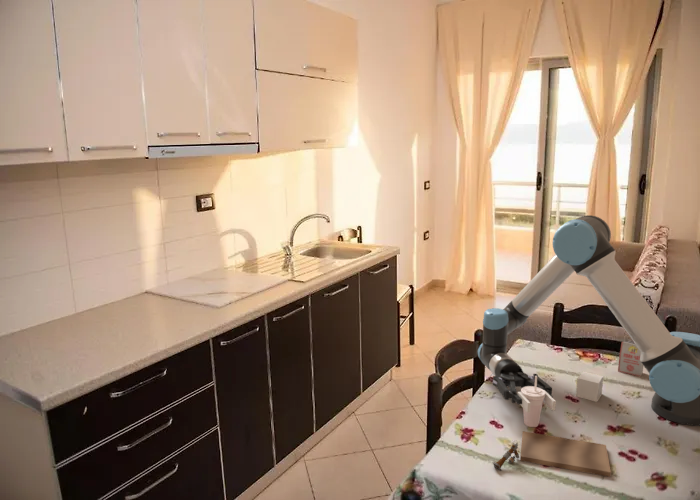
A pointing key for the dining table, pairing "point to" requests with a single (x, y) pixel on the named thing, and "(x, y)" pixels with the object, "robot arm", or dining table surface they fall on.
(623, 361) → the small printed carton
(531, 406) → the smoothie
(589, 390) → the off-white cube
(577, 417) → the dining table surface
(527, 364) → the dining table surface
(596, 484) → the dining table surface
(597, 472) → the walnut board
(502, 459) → the wooden post with brackets
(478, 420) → the dining table surface
